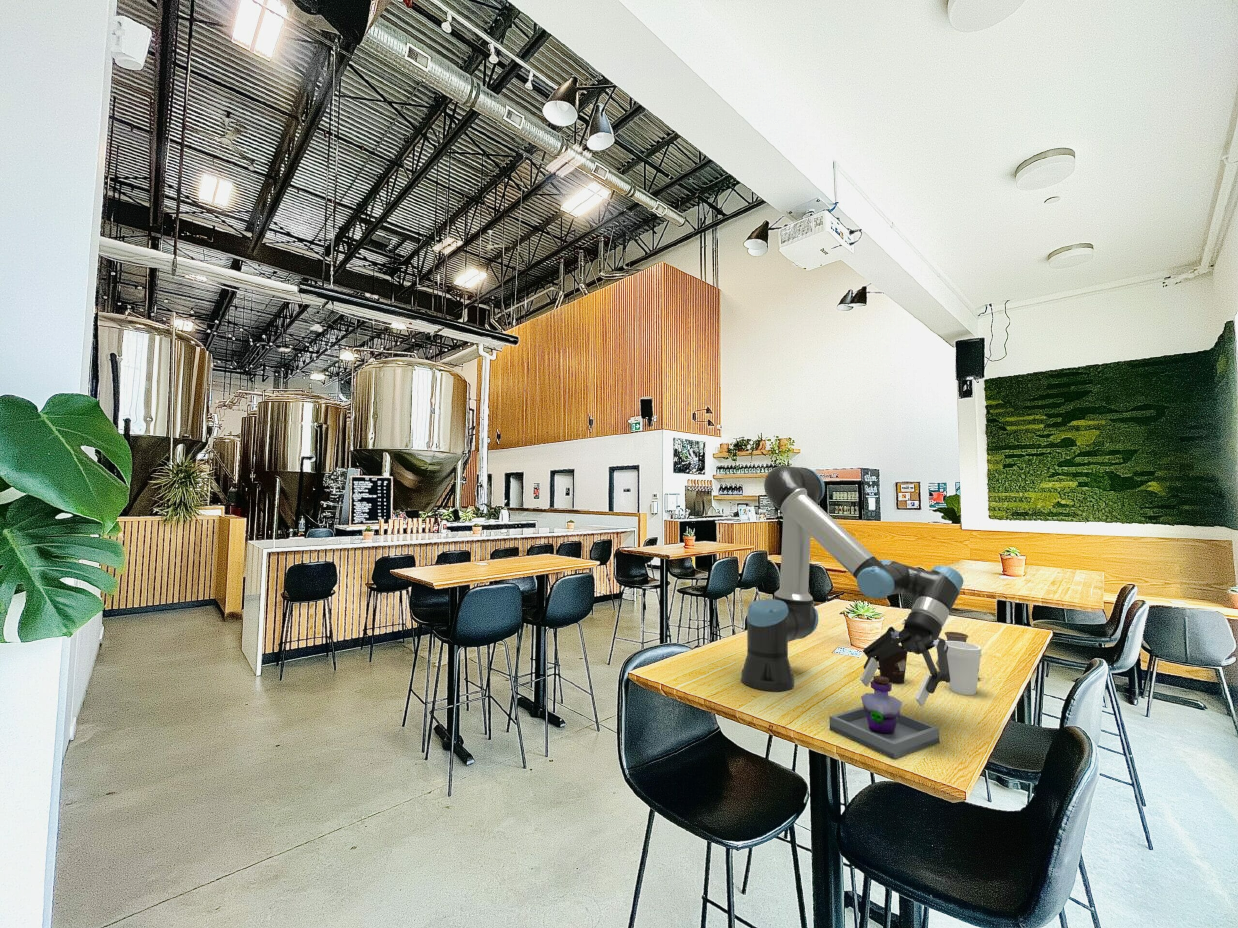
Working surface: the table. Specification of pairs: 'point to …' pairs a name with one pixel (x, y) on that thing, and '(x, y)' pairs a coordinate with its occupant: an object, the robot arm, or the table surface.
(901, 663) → the coffee mug
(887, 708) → the potion bottle
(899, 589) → the robot arm
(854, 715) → the tray
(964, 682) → the foam cup
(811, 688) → the table surface
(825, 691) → the table surface
